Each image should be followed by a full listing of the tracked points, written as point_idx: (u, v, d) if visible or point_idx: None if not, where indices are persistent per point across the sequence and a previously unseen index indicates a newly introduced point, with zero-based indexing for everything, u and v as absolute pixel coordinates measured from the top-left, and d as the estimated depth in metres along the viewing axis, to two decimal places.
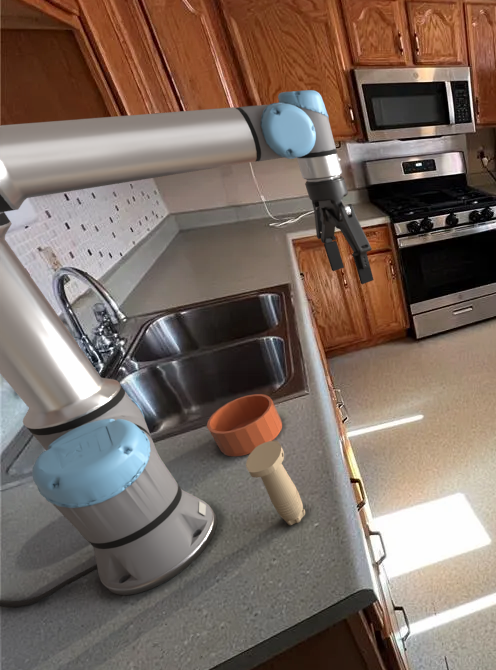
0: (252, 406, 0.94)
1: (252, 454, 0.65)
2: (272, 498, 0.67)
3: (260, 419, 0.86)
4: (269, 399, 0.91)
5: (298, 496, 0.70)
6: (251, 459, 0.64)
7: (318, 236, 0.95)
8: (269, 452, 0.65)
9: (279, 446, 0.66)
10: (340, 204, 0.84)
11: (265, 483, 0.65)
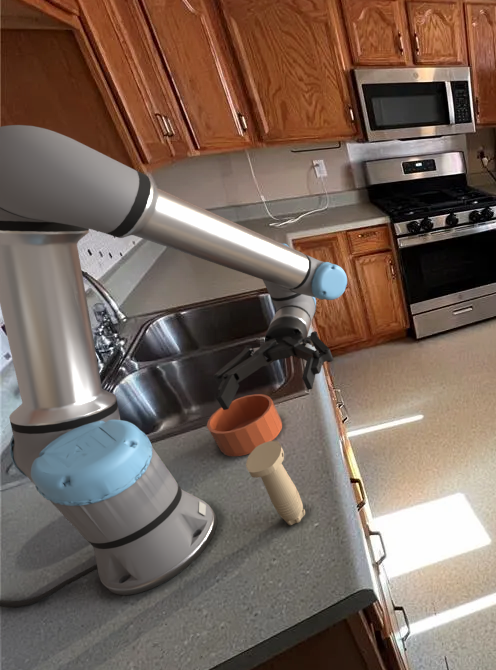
0: (252, 406, 0.94)
1: (252, 454, 0.65)
2: (272, 498, 0.67)
3: (260, 419, 0.86)
4: (269, 399, 0.91)
5: (298, 496, 0.70)
6: (251, 459, 0.64)
7: (219, 373, 0.75)
8: (269, 452, 0.65)
9: (279, 446, 0.66)
10: None
11: (265, 483, 0.65)
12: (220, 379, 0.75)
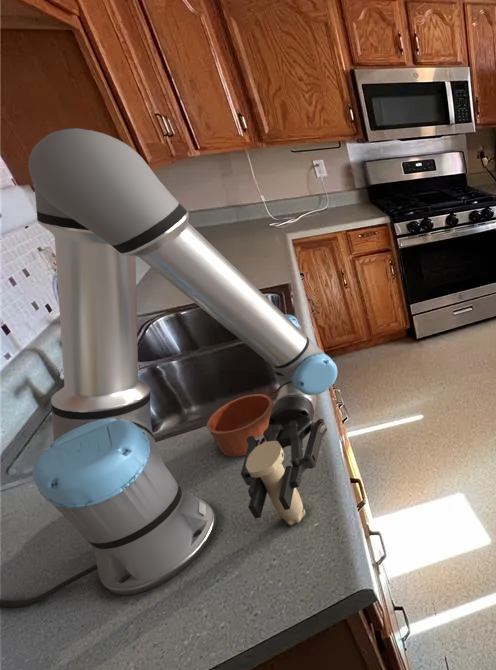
0: (252, 406, 0.94)
1: (251, 454, 0.65)
2: (272, 498, 0.67)
3: (260, 419, 0.86)
4: (269, 399, 0.91)
5: (298, 496, 0.70)
6: (251, 459, 0.64)
7: (247, 470, 0.68)
8: (269, 452, 0.65)
9: (279, 446, 0.66)
10: None
11: (265, 483, 0.65)
12: (248, 478, 0.67)
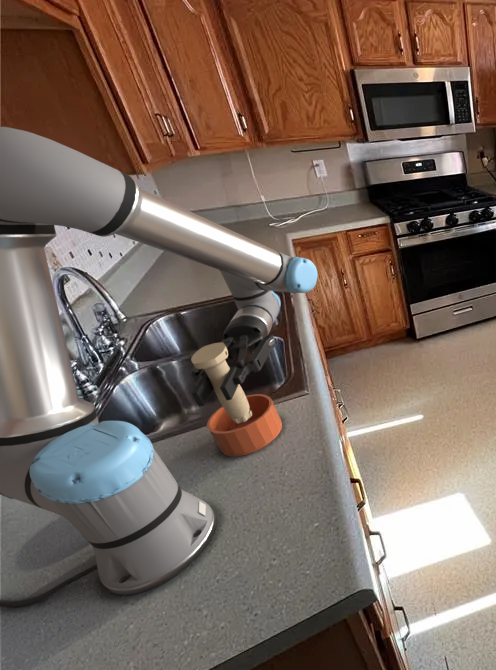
0: (252, 406, 0.94)
1: (198, 352, 0.71)
2: (218, 394, 0.73)
3: (260, 419, 0.86)
4: (269, 399, 0.91)
5: (244, 396, 0.76)
6: (196, 355, 0.70)
7: (196, 370, 0.74)
8: (214, 350, 0.71)
9: (223, 346, 0.72)
10: None
11: (210, 378, 0.72)
12: (197, 376, 0.74)
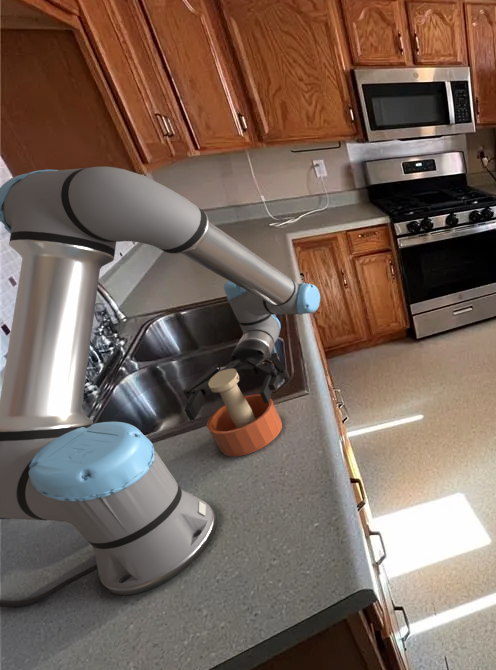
0: (252, 406, 0.94)
1: (213, 377, 0.84)
2: (230, 412, 0.86)
3: (260, 419, 0.86)
4: None
5: (252, 414, 0.89)
6: (212, 380, 0.83)
7: (188, 389, 0.87)
8: (227, 375, 0.84)
9: (235, 372, 0.85)
10: None
11: (224, 399, 0.84)
12: (189, 394, 0.87)
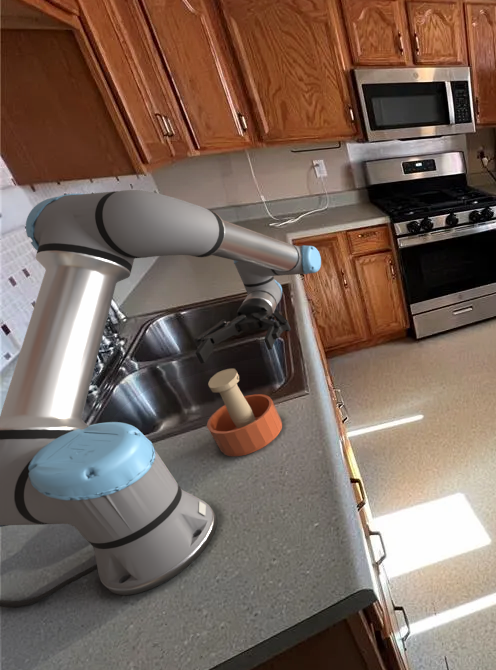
0: (252, 406, 0.94)
1: (213, 377, 0.84)
2: (230, 412, 0.86)
3: (260, 419, 0.86)
4: (269, 399, 0.91)
5: (252, 414, 0.89)
6: (212, 380, 0.83)
7: (198, 338, 0.96)
8: (227, 375, 0.84)
9: (235, 372, 0.85)
10: None
11: (224, 399, 0.84)
12: (199, 342, 0.95)
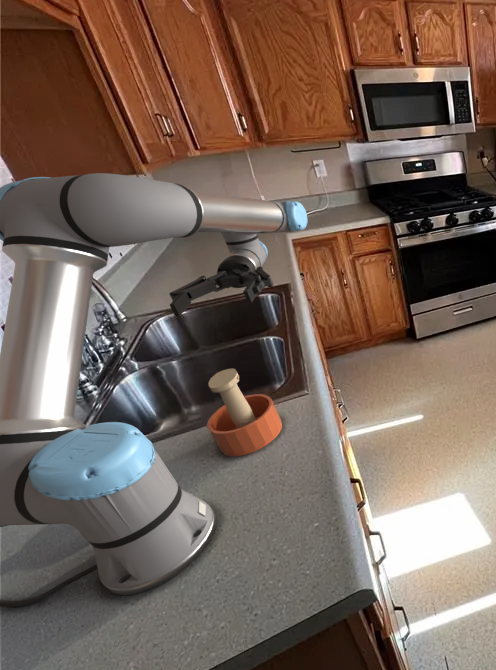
0: (252, 406, 0.94)
1: (213, 377, 0.84)
2: (230, 412, 0.86)
3: (260, 419, 0.86)
4: (269, 399, 0.91)
5: (252, 414, 0.89)
6: (212, 380, 0.83)
7: (174, 292, 0.90)
8: (227, 375, 0.84)
9: (235, 372, 0.85)
10: None
11: (224, 399, 0.84)
12: (175, 296, 0.90)
